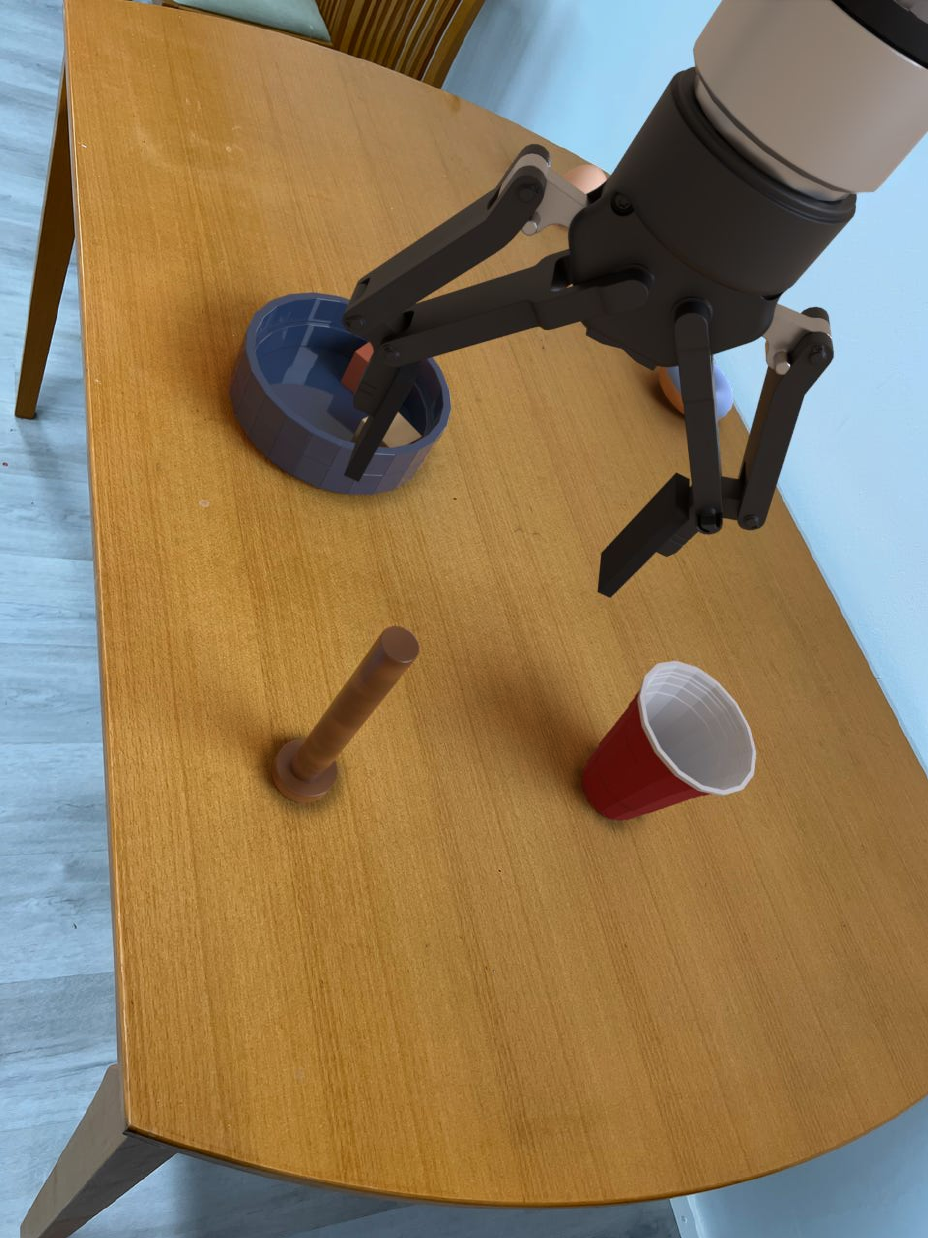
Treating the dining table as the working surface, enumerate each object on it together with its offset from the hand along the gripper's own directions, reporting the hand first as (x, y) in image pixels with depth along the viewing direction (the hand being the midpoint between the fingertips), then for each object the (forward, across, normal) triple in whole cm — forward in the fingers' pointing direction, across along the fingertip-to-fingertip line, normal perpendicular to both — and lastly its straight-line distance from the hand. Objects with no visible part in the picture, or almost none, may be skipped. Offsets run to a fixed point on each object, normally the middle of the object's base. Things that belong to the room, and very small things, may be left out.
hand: (485, 520), depth 47 cm
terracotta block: (+28, +5, -39) cm, 49 cm away
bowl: (+29, +7, -34) cm, 45 cm away
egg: (+29, -12, -88) cm, 93 cm away
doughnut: (+29, -31, -64) cm, 77 cm away
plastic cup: (+29, -25, -8) cm, 39 cm away
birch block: (+28, +2, -31) cm, 42 cm away
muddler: (+29, 0, +1) cm, 29 cm away
